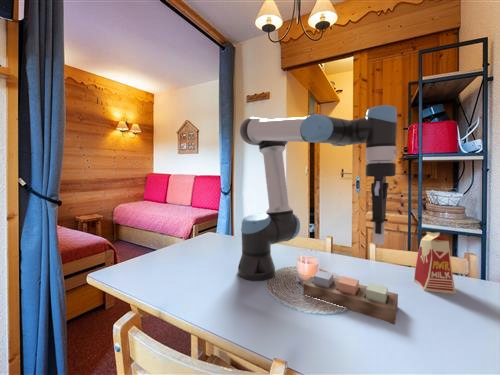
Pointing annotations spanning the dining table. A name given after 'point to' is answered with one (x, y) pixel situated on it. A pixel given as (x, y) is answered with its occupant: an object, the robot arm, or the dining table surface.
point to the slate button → (323, 279)
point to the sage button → (377, 293)
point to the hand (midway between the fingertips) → (378, 243)
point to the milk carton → (434, 265)
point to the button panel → (354, 300)
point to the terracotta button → (348, 285)
